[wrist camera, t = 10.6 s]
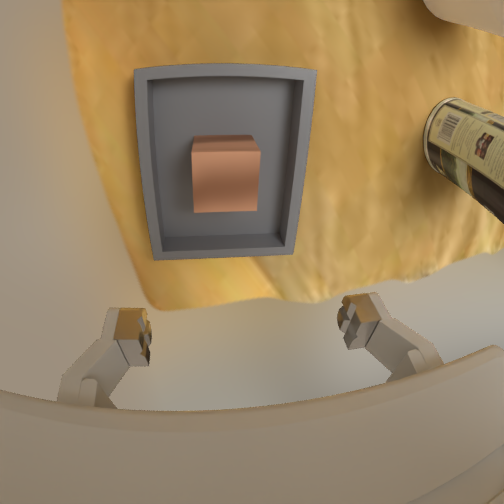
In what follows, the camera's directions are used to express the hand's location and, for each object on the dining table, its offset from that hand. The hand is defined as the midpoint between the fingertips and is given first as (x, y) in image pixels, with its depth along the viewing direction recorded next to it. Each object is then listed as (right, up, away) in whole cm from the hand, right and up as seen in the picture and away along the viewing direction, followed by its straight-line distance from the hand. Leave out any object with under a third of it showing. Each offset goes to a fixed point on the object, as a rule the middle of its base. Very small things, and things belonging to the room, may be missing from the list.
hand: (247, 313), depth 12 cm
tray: (-3, +11, +15) cm, 19 cm away
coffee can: (+24, +16, +16) cm, 33 cm away
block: (-2, +11, +14) cm, 18 cm away
